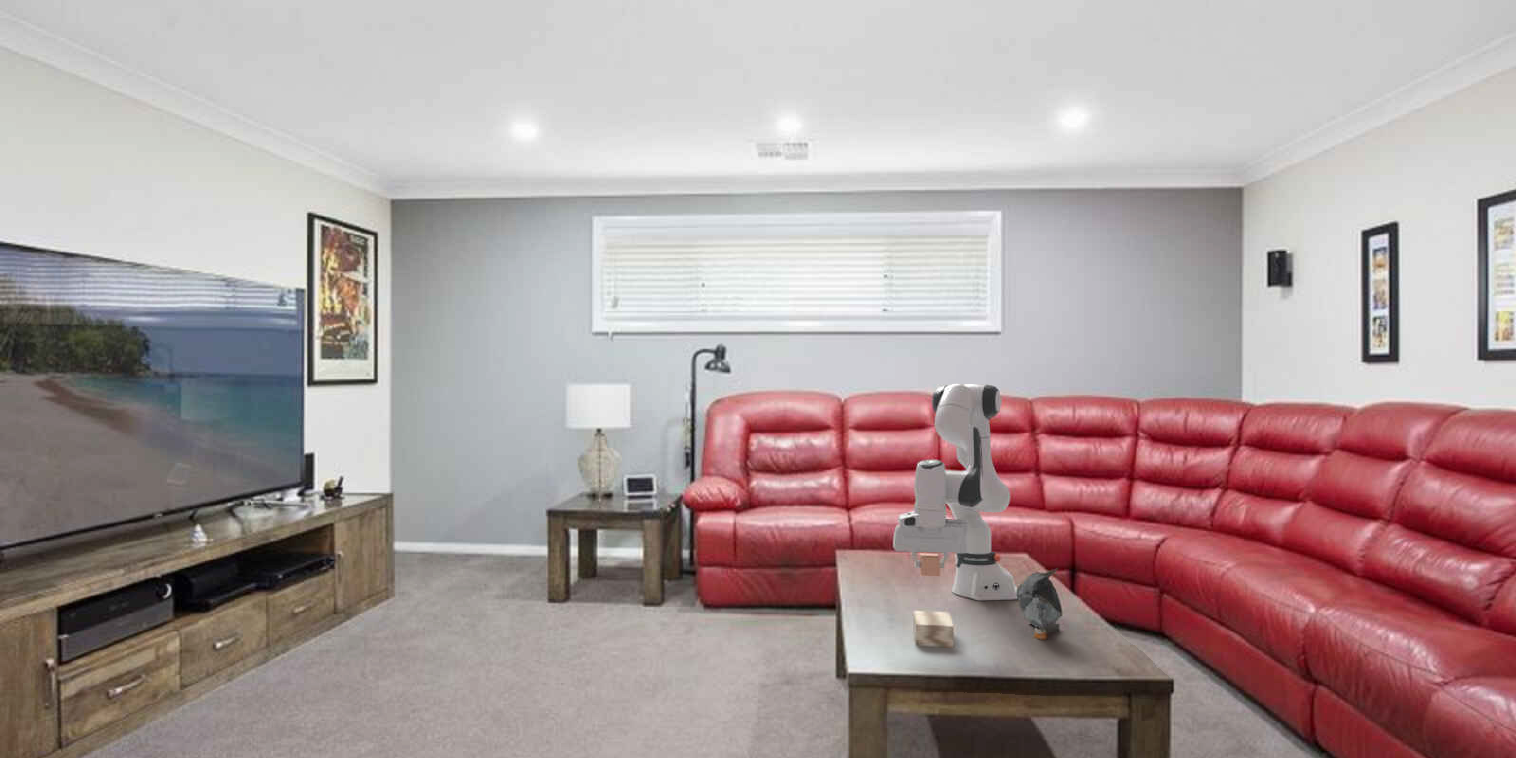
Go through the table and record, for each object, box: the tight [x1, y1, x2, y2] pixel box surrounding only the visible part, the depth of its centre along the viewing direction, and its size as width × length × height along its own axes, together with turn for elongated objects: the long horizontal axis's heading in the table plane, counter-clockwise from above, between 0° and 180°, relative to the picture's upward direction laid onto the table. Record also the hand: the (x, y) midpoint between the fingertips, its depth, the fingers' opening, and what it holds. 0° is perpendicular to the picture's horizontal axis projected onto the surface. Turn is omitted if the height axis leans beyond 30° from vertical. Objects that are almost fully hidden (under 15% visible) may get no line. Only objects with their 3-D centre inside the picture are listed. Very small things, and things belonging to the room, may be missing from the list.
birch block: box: [913, 610, 955, 648], centre depth 213 cm, size 10×12×6 cm
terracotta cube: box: [918, 552, 941, 577], centre depth 214 cm, size 5×5×5 cm
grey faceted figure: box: [1016, 567, 1063, 640], centre depth 217 cm, size 14×15×18 cm
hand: (929, 567), depth 214 cm, fingers closed on terracotta cube, 5 cm apart
